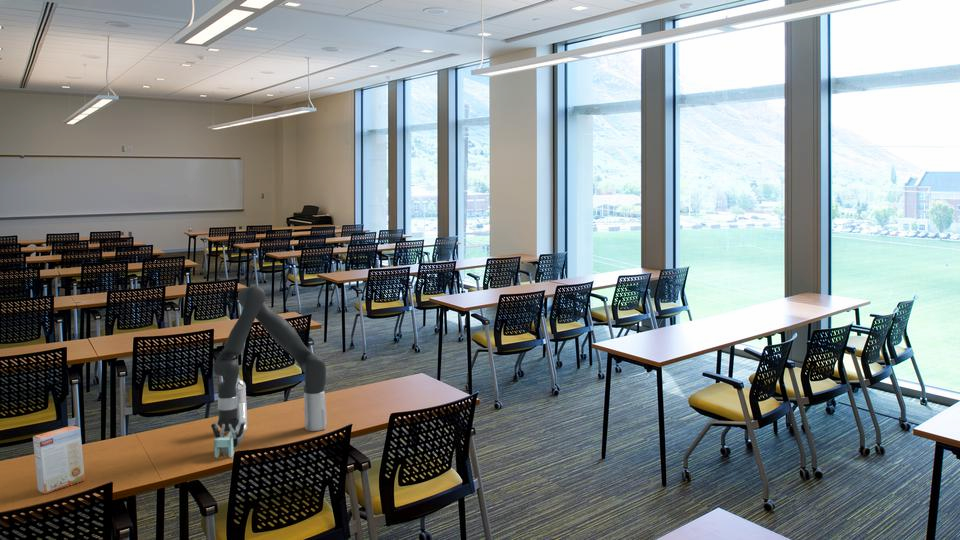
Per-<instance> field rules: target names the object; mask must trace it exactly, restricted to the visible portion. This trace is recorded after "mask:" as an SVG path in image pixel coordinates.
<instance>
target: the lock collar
mask: <svg viewBox="0 0 960 540" xmlns="http://www.w3.org/2000/svg"><path fill="white" fill-rule="evenodd" d="M213 446H214V458H215V457H216V458H215V459H217V457H220V455H221V454H220V452H221V449H220V448H221V447H228V448H229V455H228V458H232V457H233V456H234V455H233V454H234V451H233V437H227V436H224V437H223V438H218V437H217V438H216V437H215V438H214V440H213Z"/></svg>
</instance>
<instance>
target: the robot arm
mask: <svg viewBox="0 0 960 540" xmlns="http://www.w3.org/2000/svg"><path fill="white" fill-rule="evenodd" d="M237 299H238V302H239V304H240V305H241V307H242V310H241V314H240V315H239V317H238V319H237V321H236V322H235V324H234V325H233V328H232V329H231V330H230V332H229V335H228V338H227V340H226V343H225V345H224V348H222V350H221V351H220V354H219V355H218V356H217V357H216V359H215V361H214V363H213V367H212V368H213V373H214V374H215V375H217V376H218V377H223V378H224V381H221V382H220V383H219V384H218V385H217V410H218V411H217V412H218V414H217V415H218V420H217V422H215V421H214V422H213V423H212V424H211V426H210V427H211V429H212V432H213V435H214V437H215V439H216V438H223V437H225V435H226V432H230V431H231V433H232V435H233V438H234V439H233V446H234V447H236V446H237V445H238V446H239V444H238V437H241V435H242V434H243V430H244V427H245V424H246V423H245V422H243V423H242V422H239V420H238V412H237V397H236V384H237V380H238V376H240V366H239V364H238V362H237V361H236V360H233V358H234V357H237V356H240V355H241V354H242V351H243V349H244V346H245V343H246V341H247V338H248V336H249V333H250V330H251V327H252V326H253V324H254V322H255V319H256V321H258V322H259V324H261V326H262V328H264V329H265V331H266V332H267V333H268V334H269V335H270V336H271V338H272V339H273V340H274V341H275V342H276V344H278V345H279V346H280V347H281V348H282V349H283V350H284V351H285V352H286V353H288V354H289V355H290V356H291V357H292V358H293V359H294V360H295V361H296V363H297V364H298V366H299V367H300V369H301V370H302V372H303V373H304V374H305V378H304V379H305V384H304V385H303V405H304V406H303V408H304V410H303V411H304V429H305V430H306V431H309V432H317V431H318V432H319V431H322V430H323V431H324V429H325V430H326V428H327V426H326V425H327V422H328V421H327V420H328V419H327V404H326V392H325V390H326V384H327V373H326V372H327V371H326V370H327V368H326V363H325V361H324V360H323V359H322V358H321V357H319V356H317V355H316V354H315V353H314V352H312V350H311V349H309V348H308V347H307V346H306V345H305V344H304V342H303V341H302V339H301V337H300V336H299V334H298V332H297V331H296V329H295V328H294V327H293V326H292V325H291V324H290V323H289V322H288V321H287V320H286V319H285V318H283V317H282V316H281V315H279V314H278V313H276V312H275V311H273V310H272V309H270V308H269V306H267V304H266V303H265V302H266V292H265V290H264V289H263V288H262V287H261V286H249V287H244V288H242V289H241V290H239V291H238V295H237ZM237 425H239V427H240V430H239V433H237V429H236V426H237ZM219 427H220V430H219ZM325 427H326V428H325ZM238 446H237V447H238ZM237 447H236V448H237Z"/></svg>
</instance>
